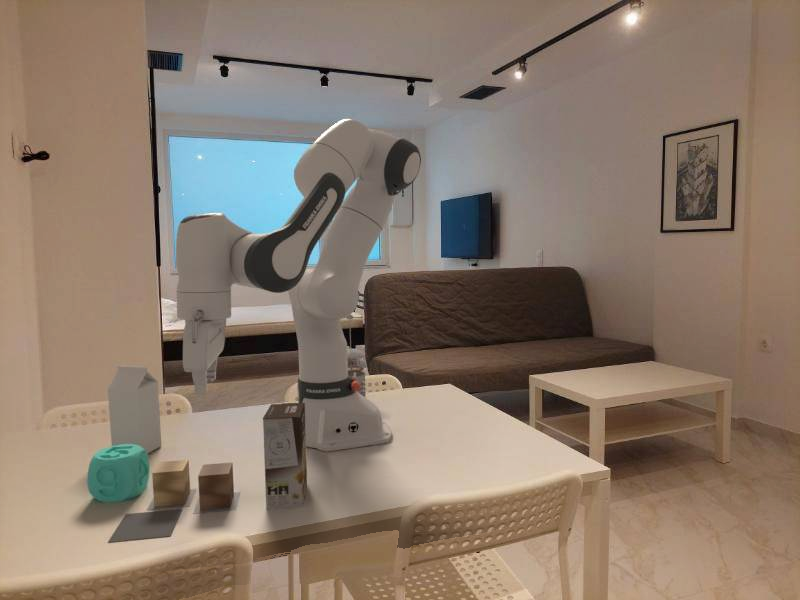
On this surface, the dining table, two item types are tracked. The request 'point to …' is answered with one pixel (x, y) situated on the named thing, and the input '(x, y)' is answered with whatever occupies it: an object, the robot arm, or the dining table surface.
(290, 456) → the coffee box
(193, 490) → the code tile
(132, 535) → the felt pad
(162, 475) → the oak block
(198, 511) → the code tile
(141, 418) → the milk carton
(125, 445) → the decorative dice
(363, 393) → the french press
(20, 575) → the dining table surface
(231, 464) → the walnut block
